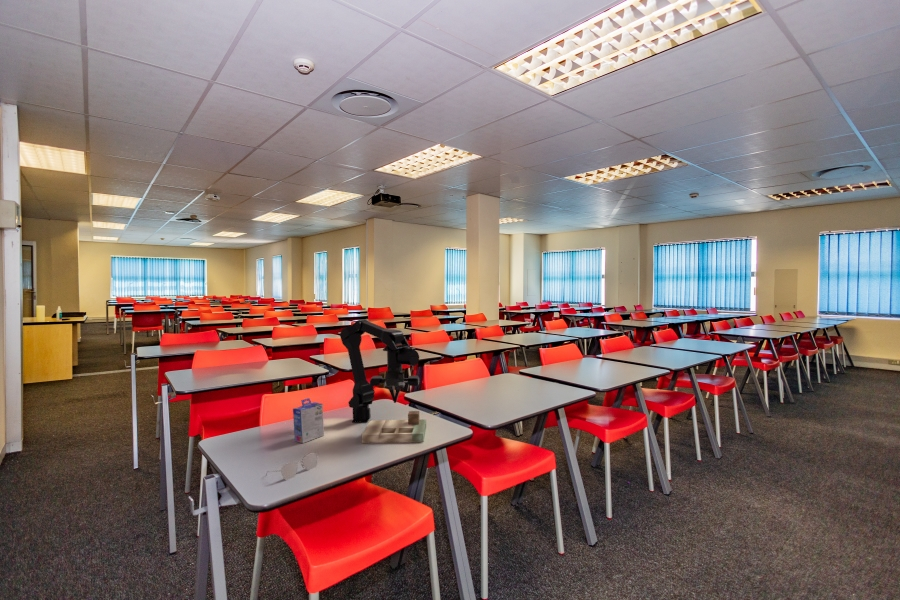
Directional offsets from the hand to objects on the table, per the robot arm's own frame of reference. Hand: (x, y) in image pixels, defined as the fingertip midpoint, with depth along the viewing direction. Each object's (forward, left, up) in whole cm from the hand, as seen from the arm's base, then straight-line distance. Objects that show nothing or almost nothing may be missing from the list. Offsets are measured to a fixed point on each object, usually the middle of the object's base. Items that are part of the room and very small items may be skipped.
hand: (395, 402), depth 165 cm
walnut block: (+7, -3, -7) cm, 11 cm away
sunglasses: (-27, -36, -11) cm, 46 cm away
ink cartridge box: (-31, -9, -11) cm, 34 cm away
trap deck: (+1, -7, -10) cm, 12 cm away
